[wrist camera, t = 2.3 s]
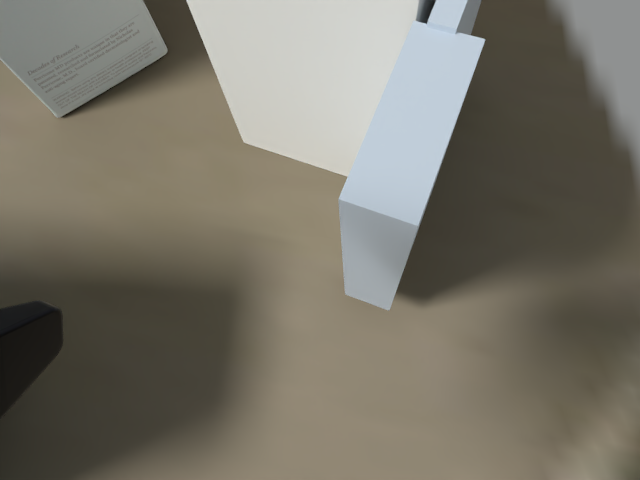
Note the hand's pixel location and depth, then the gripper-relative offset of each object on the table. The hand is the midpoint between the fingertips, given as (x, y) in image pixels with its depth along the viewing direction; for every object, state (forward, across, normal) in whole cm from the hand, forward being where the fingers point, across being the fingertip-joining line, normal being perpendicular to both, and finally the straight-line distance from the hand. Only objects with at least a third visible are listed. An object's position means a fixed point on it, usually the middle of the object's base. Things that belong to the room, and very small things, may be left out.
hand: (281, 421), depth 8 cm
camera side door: (+18, 0, 0) cm, 18 cm away
